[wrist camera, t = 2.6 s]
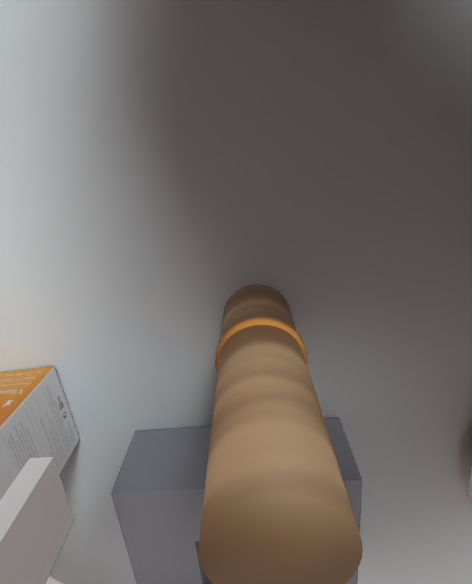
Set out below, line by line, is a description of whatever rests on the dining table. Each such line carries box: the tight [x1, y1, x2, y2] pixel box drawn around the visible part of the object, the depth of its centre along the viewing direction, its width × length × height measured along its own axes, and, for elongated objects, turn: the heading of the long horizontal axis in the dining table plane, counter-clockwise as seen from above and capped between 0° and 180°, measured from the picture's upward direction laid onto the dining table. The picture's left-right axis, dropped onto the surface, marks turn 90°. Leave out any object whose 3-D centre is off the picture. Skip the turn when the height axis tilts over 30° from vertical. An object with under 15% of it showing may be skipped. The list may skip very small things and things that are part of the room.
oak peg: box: [198, 285, 362, 584], centre depth 15 cm, size 4×4×14 cm
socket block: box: [111, 418, 362, 584], centre depth 25 cm, size 14×14×5 cm
